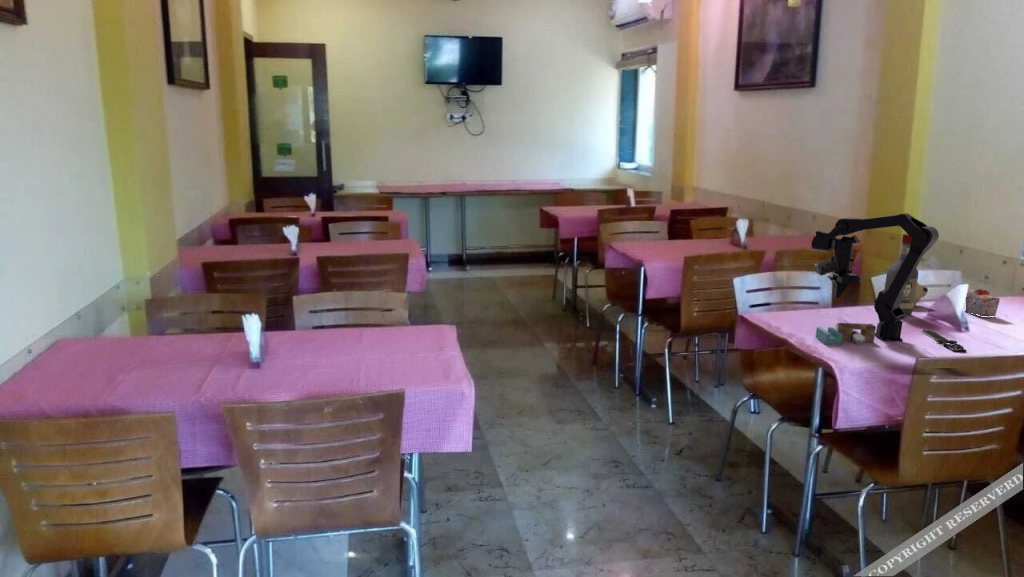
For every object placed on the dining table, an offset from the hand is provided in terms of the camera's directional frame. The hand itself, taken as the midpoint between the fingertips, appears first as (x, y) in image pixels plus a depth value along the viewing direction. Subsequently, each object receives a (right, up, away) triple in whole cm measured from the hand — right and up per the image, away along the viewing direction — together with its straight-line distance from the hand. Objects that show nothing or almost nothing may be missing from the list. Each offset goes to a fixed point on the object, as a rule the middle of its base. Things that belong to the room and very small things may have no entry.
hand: (836, 298), depth 268 cm
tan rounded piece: (+44, -3, +37) cm, 57 cm away
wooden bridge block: (0, -14, -15) cm, 20 cm away
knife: (+30, -15, -11) cm, 35 cm away
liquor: (+33, -6, +24) cm, 41 cm away
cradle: (-10, -14, -16) cm, 23 cm away
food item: (+65, -7, +26) cm, 70 cm away
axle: (0, -13, -11) cm, 17 cm away
